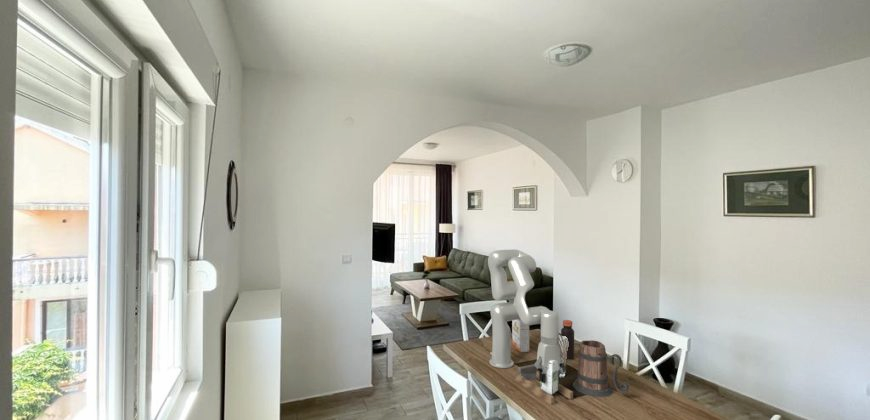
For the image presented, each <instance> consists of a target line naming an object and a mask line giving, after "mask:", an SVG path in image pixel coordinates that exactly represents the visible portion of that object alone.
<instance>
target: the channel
mask: <svg viewBox="0 0 870 420" xmlns="http://www.w3.org/2000/svg"><path fill="white" fill-rule="evenodd" d="M534 364H535V363H533V364H528V365H524V366H518V368H517V370H518V371H517V373H515V381H516V382H517V383H518V384H520V385H522V386H523V387H525V388H526V389H527V390H529V391H530V392H531V393H533V394H535V395H536V396H538V398H540V399H542V400H544V402H546V403H547V404H549V405H550V406H553V405H555V397H554V396H553V394H552V395H551V394H549V393H547V392H546V391H544V390H543V389H541V388H540V386H539V385H536V384H535V383H534V382H532V381H530V380H535V379H537V380H538V381H540V380H539V372H538V370H537V369H536V368H535V366H534ZM557 393H559V394H560V395H562V396H564V397H565V398H567V399H569V400H574V391H572V390H570V389H569V388H567V387H566V386H564V385H562V384H560V383H559V382H558V391H557Z"/></svg>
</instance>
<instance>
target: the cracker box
mask: <svg viewBox="0 0 870 420" xmlns="http://www.w3.org/2000/svg"><path fill="white" fill-rule="evenodd" d="M511 322H512V323H511V325H512V326H511V330H512V332H511V334H512V335H511V336H512V338H511V339H512V342H511V343H512V345H513V346H514V347H515V348H516V349H517V350H518V352H519V353H529V352H530V325H525V324H524V323H523V322H522V321H521V319H517V320H512V321H511Z"/></svg>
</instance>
